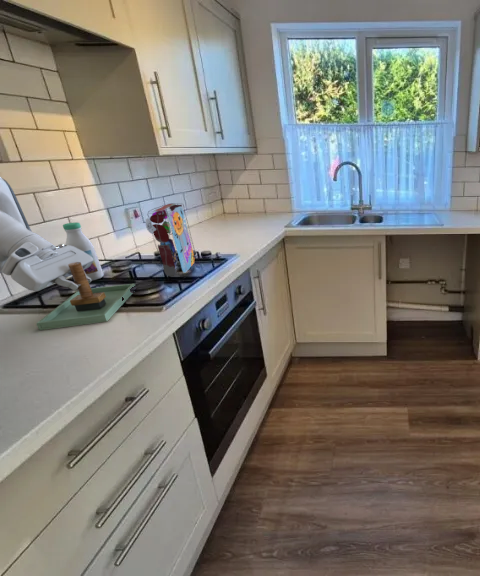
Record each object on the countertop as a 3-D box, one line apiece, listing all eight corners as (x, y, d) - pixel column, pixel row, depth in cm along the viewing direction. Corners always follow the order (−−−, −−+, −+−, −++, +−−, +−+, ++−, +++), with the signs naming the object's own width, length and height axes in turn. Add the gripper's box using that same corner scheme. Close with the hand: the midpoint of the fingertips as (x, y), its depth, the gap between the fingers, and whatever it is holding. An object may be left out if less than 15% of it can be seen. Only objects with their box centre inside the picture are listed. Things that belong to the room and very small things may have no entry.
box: (174, 290, 118) (154, 216, 108) (154, 292, 117) (132, 217, 107) (198, 265, 140) (183, 202, 131) (182, 266, 140) (165, 203, 130)
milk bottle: (85, 275, 133) (65, 221, 125) (108, 273, 134) (90, 220, 126) (72, 283, 126) (50, 226, 118) (97, 281, 127) (77, 225, 119)
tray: (39, 330, 95) (35, 323, 94) (81, 295, 116) (79, 289, 115) (107, 321, 99) (104, 314, 98) (136, 289, 120) (134, 283, 119)
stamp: (74, 312, 103) (55, 267, 98) (81, 306, 106) (63, 262, 101) (102, 308, 104) (85, 264, 99) (108, 303, 108) (92, 259, 103)
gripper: (60, 250, 109) (103, 279, 113) (-6, 274, 90) (49, 308, 94) (69, 235, 107) (113, 265, 111) (5, 256, 89) (60, 292, 92)
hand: (83, 285), depth 103 cm, fingers closed on stamp, 3 cm apart
